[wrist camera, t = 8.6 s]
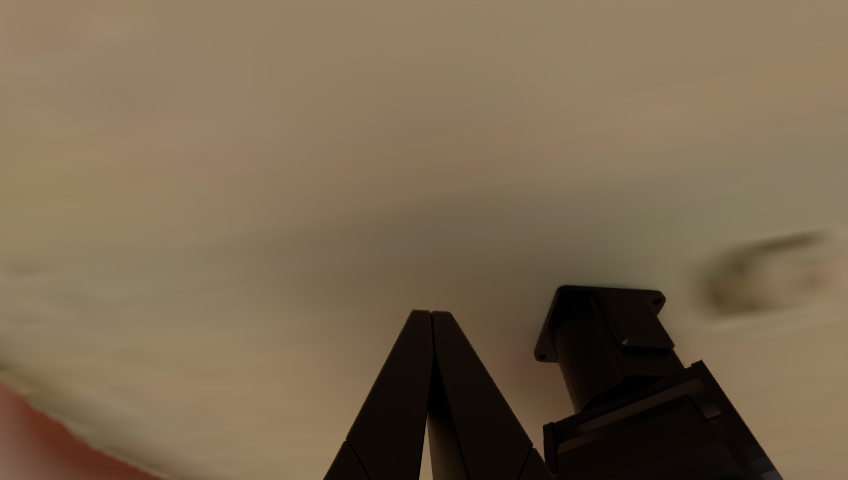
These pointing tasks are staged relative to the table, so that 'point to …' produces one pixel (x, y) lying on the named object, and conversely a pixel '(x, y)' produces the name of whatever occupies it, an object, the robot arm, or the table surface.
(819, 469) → the table surface
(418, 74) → the table surface
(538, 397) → the table surface
